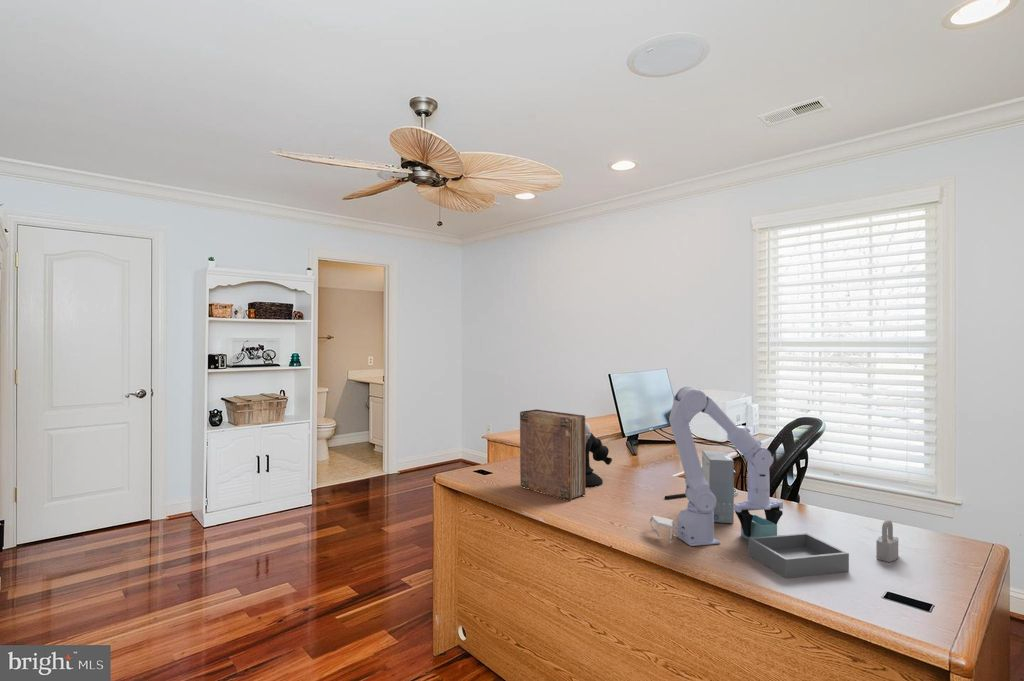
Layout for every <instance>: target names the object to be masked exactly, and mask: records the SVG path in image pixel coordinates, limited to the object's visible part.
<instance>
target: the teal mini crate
mask: <svg viewBox="0 0 1024 681" xmlns="http://www.w3.org/2000/svg"><path fill="white" fill-rule="evenodd" d="M752 515H753V519H752V523H751V536H750V537H747V536H745V535H744V533H743V529H742V526H741V525H740V536H741V537H742V538H744V539H746V540H748V541H749V538H755V537H766V536H778V524H777V525H776V524H774V523H772V522H770V521H768V520H766V518H765V517H762V516H760V515H758V514H754V513H753V514H752Z"/></svg>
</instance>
